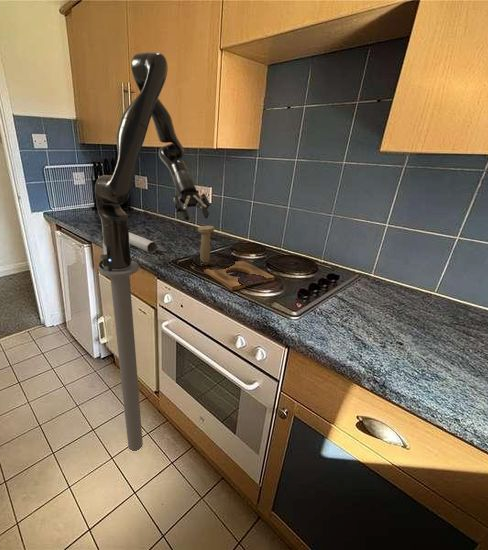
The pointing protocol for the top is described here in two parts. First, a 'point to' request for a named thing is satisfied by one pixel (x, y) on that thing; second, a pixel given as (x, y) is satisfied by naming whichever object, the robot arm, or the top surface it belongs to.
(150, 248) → the tube
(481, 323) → the top surface
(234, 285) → the base pad
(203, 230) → the handle
